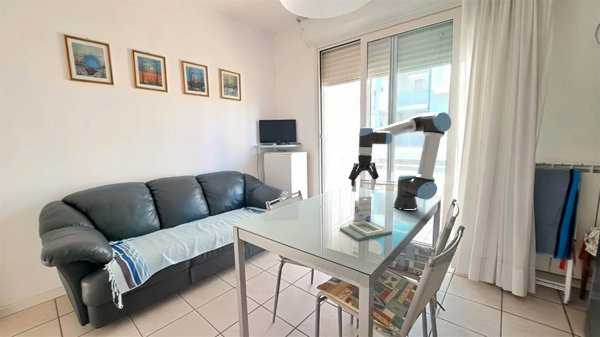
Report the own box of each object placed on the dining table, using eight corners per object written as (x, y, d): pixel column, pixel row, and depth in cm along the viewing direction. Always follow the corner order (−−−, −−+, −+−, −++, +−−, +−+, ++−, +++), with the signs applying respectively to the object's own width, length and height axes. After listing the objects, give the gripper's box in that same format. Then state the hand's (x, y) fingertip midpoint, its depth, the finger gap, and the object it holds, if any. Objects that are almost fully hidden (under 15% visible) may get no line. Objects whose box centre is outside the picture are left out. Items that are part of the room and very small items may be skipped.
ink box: (366, 217, 151) (367, 194, 149) (370, 220, 146) (372, 196, 144) (353, 219, 148) (354, 195, 146) (357, 221, 144) (358, 197, 142)
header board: (372, 223, 141) (372, 219, 140) (391, 233, 127) (392, 228, 127) (339, 229, 132) (340, 224, 131) (357, 240, 118) (357, 235, 118)
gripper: (377, 153, 150) (375, 187, 153) (343, 154, 140) (341, 190, 143) (386, 154, 143) (384, 190, 146) (351, 155, 133) (349, 193, 136)
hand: (363, 190), depth 145 cm, fingers open, 13 cm apart
